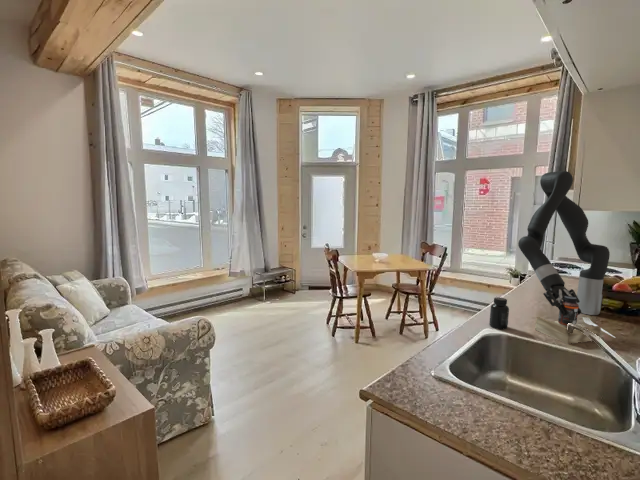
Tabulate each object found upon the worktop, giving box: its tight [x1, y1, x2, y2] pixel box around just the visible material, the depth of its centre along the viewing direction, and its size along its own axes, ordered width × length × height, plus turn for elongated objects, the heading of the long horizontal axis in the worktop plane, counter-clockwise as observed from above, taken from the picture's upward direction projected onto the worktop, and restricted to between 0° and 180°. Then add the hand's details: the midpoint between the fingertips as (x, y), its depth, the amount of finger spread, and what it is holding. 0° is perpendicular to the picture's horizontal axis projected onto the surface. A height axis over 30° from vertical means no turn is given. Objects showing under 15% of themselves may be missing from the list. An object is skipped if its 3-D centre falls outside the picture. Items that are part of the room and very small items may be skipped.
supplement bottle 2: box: [557, 296, 579, 326], centre depth 138 cm, size 6×6×11 cm
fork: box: [582, 316, 617, 339], centre depth 148 cm, size 3×20×2 cm, turn 172°
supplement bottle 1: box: [488, 296, 510, 330], centre depth 145 cm, size 7×7×12 cm
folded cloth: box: [534, 316, 602, 345], centre depth 139 cm, size 16×14×5 cm
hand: (572, 314), depth 137 cm, fingers open, 6 cm apart
